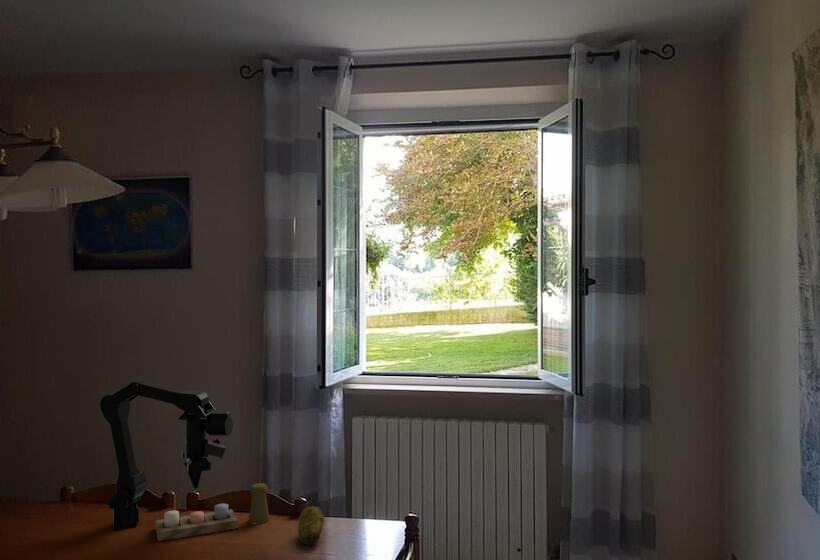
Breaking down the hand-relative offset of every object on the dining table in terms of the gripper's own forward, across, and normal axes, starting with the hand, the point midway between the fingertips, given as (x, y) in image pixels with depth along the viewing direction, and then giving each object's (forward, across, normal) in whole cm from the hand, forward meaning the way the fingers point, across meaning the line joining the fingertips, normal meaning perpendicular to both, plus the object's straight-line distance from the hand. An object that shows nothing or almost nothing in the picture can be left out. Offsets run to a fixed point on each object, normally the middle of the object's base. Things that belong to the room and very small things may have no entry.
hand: (195, 487), depth 192 cm
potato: (+12, -22, -28) cm, 38 cm away
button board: (+12, 0, 0) cm, 12 cm away
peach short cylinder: (+11, 0, 0) cm, 12 cm away
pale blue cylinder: (+10, 0, -7) cm, 13 cm away
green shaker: (+12, -1, -18) cm, 22 cm away
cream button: (+10, 0, +7) cm, 12 cm away
